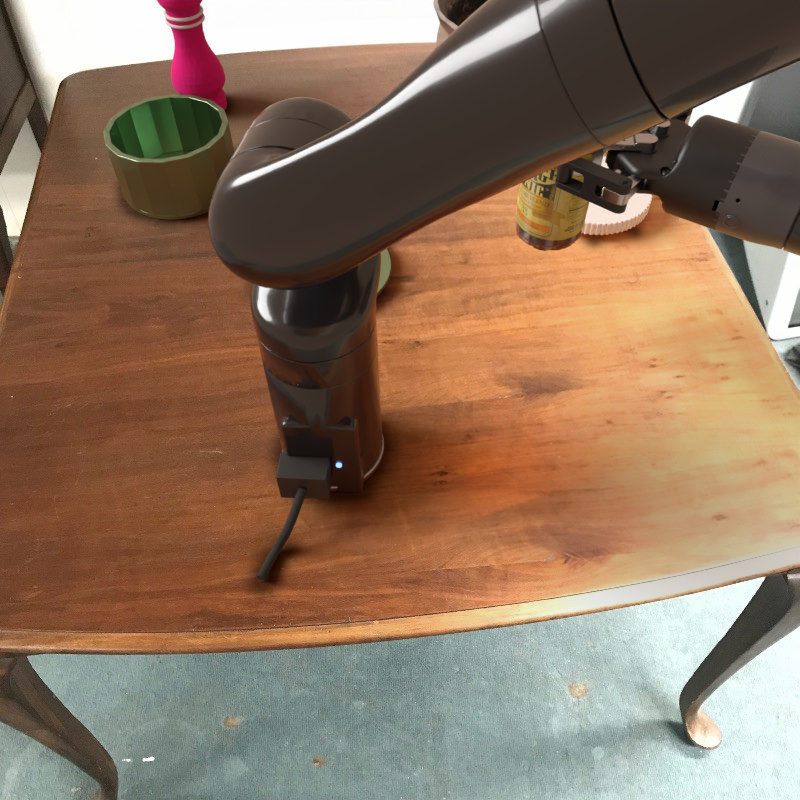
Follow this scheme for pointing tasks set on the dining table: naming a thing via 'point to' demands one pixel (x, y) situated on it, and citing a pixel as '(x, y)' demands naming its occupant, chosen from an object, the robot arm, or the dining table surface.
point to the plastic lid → (616, 215)
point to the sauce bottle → (549, 212)
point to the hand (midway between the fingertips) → (540, 117)
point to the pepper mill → (193, 53)
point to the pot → (169, 154)
